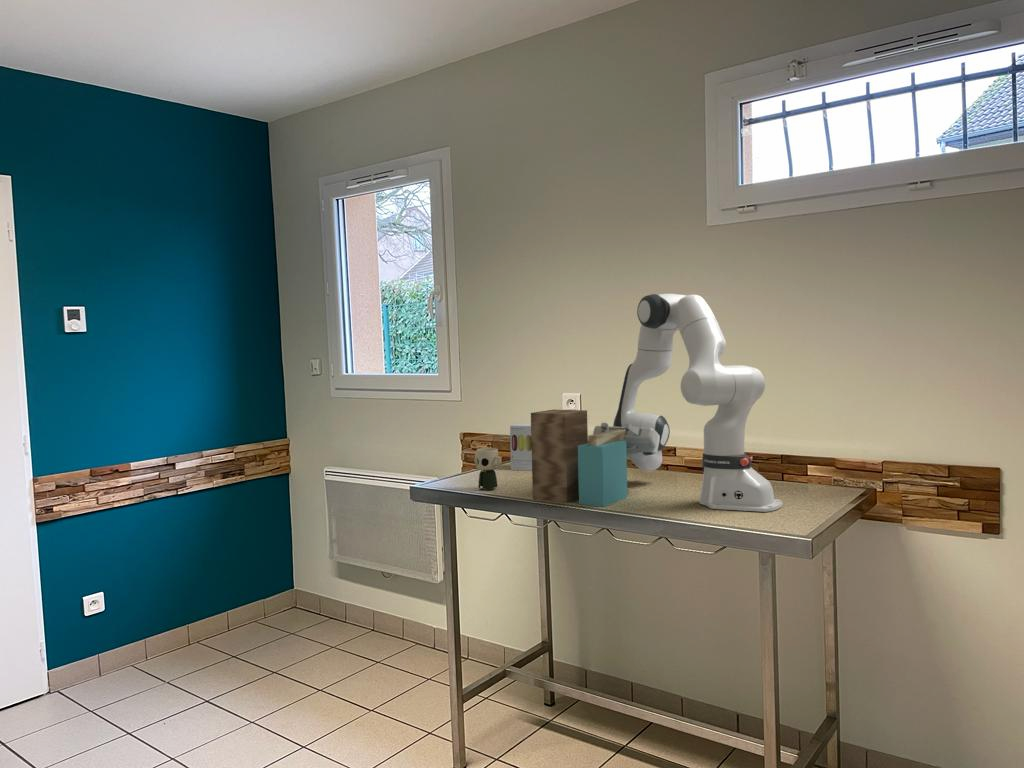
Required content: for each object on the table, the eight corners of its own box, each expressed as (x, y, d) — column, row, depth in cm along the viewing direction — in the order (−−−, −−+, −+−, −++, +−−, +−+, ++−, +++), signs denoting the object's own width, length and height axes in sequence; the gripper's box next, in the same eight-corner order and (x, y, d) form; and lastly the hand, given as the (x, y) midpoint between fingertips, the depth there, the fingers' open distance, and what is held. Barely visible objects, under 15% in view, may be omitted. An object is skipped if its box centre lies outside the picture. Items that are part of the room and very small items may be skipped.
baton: (631, 437, 240) (631, 428, 239) (596, 445, 222) (596, 436, 221) (623, 437, 241) (623, 428, 241) (588, 445, 223) (587, 435, 223)
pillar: (588, 495, 237) (587, 410, 236) (567, 502, 226) (565, 414, 225) (555, 491, 244) (553, 409, 243) (532, 499, 233) (530, 412, 232)
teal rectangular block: (627, 497, 232) (626, 440, 231) (603, 506, 220) (602, 447, 219) (603, 495, 236) (602, 439, 236) (579, 504, 224) (577, 445, 223)
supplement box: (509, 470, 289) (508, 425, 288) (515, 466, 298) (514, 422, 297) (535, 470, 287) (534, 425, 286) (539, 466, 296) (538, 422, 295)
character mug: (468, 489, 252) (467, 449, 252) (483, 485, 258) (482, 447, 257) (492, 492, 245) (491, 451, 245) (507, 489, 251) (506, 449, 250)
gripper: (605, 433, 251) (587, 414, 241) (664, 435, 239) (647, 416, 229) (601, 451, 249) (582, 433, 239) (660, 454, 237) (643, 436, 227)
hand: (615, 425), depth 234 cm, fingers open, 7 cm apart
